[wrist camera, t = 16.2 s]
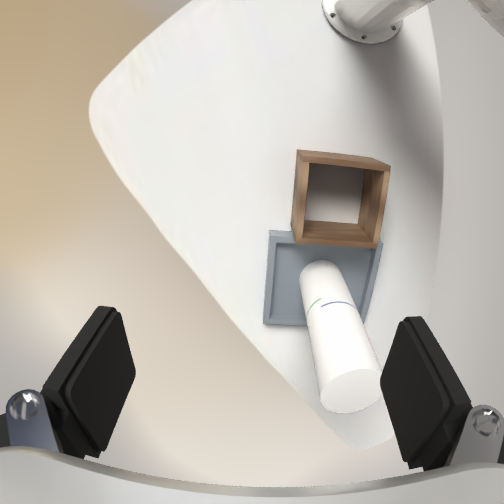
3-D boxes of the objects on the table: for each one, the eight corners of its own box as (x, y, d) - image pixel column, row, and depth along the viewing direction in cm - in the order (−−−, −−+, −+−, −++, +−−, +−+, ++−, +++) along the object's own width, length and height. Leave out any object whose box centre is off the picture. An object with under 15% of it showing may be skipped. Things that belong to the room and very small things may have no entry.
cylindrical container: (346, 289, 54) (389, 399, 31) (307, 303, 55) (329, 420, 32) (334, 253, 51) (381, 359, 28) (293, 269, 52) (311, 383, 29)
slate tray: (269, 230, 51) (269, 235, 48) (378, 237, 50) (383, 243, 48) (263, 315, 57) (263, 323, 55) (359, 318, 57) (363, 326, 55)
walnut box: (297, 149, 45) (303, 155, 38) (371, 157, 45) (390, 166, 38) (290, 224, 50) (295, 243, 43) (361, 229, 50) (377, 248, 43)
